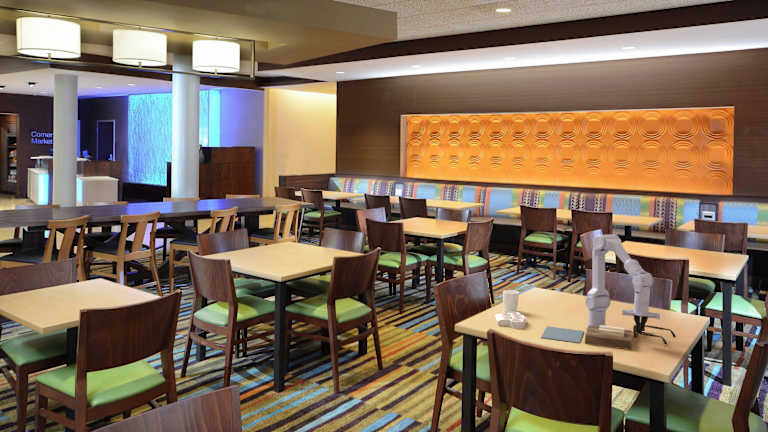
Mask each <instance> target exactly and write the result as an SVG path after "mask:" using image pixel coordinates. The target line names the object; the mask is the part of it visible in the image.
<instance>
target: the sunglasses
mask: <svg viewBox="0 0 768 432" xmlns="http://www.w3.org/2000/svg"><path fill="white" fill-rule="evenodd" d="M640 326H641V321H640ZM632 328H633V329H632V334H633V338H634V337H635V338H634V339H637V336H636V335H638V336H639V334H638V330H637V326H636V324H635V325H633V327H632ZM645 328H648V329H656V330H662V331H669V332H670V333H671V335H672V338H674V337H676V334H675V332H674V331H673V330H672V329H670V328H666V327H665V328H664V327H659V326H654V325H649V324H648V325H647V324H645V325H644V327H643V330H642V331H644V332H642V334H640V336H641V335H642V336H647V337H653V338H659V339H662V342H663V344H664V345H665V344H667V345H668V342H667V340H666V339H665V337H663V336H661V335H656V334H652V333H648V332H647V333H645V332H646V331H645ZM676 338H677V337H676Z"/></svg>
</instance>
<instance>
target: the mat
mask: <svg viewBox="0 0 768 432" xmlns="http://www.w3.org/2000/svg"><path fill="white" fill-rule="evenodd" d="M583 334H584V330H579V329H573V328H563V327H555V326H546V327H545V329H544V331H543V332H542V335H541V337H540V338H541V339H545V340H553V341H559V342H560V341H561V342H565V343H573V344H574V343H576V344H580V343H581V340H582V337H583Z"/></svg>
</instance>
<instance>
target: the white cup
mask: <svg viewBox="0 0 768 432" xmlns="http://www.w3.org/2000/svg"><path fill="white" fill-rule="evenodd" d="M519 294H520V292H519V291H517V290H514V289H504V290H502V310H503V313H508V312H518V305H519Z"/></svg>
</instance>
